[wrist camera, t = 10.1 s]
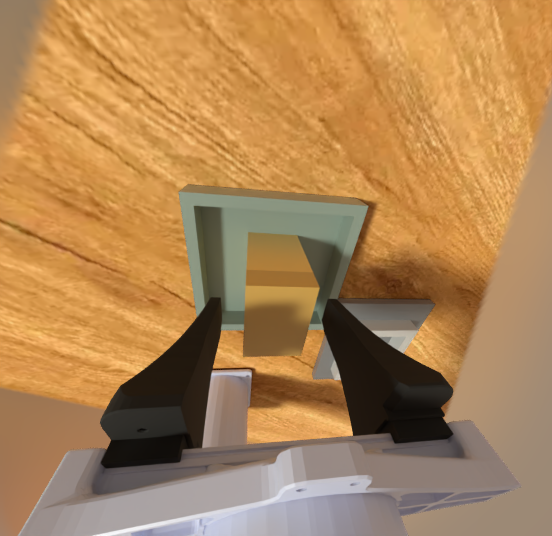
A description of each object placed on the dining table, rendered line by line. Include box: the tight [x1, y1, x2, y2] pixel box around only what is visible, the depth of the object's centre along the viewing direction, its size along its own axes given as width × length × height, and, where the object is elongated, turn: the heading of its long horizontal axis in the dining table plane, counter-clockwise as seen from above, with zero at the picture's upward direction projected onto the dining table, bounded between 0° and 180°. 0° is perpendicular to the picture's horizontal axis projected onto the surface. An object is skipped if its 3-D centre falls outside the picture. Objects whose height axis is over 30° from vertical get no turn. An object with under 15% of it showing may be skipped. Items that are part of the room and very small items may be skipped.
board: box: [312, 298, 435, 380], centre depth 25 cm, size 14×11×2 cm
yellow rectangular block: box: [243, 232, 320, 357], centre depth 16 cm, size 6×4×7 cm, turn 174°
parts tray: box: [179, 184, 369, 330], centre depth 18 cm, size 13×13×2 cm
